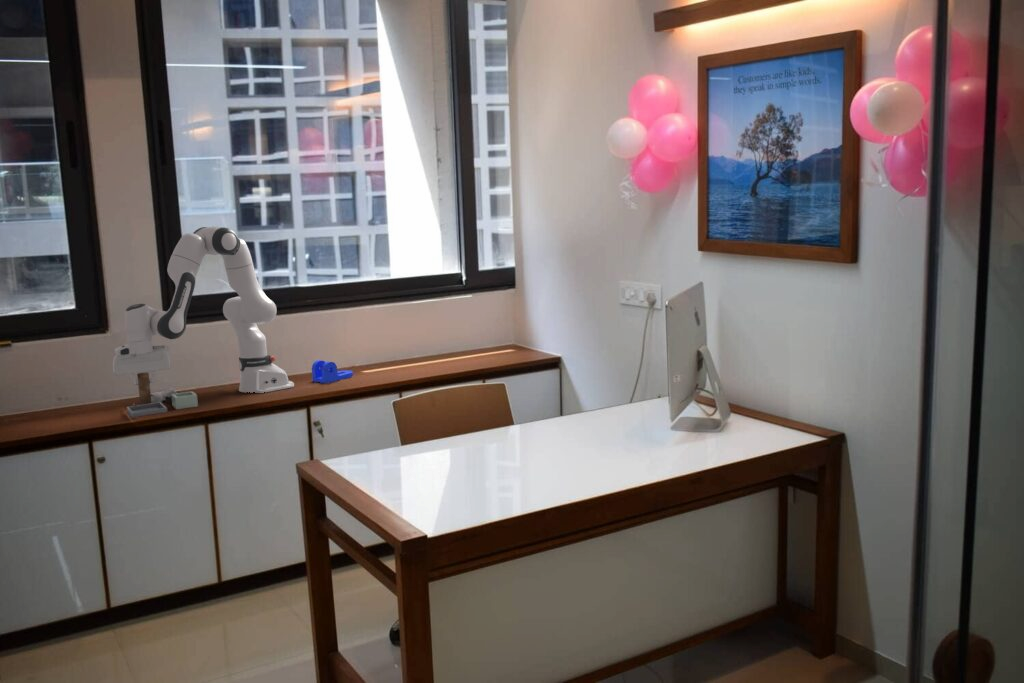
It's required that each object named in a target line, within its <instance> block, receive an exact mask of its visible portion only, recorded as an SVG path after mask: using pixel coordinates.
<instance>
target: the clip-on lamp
mask: <svg viewBox="0 0 1024 683" xmlns="http://www.w3.org/2000/svg"><path fill="white" fill-rule="evenodd" d="M183 392H184V391H182V392H181V393H183ZM176 393H180V391H176V389H175V388H174V387H169V388H167V389H164V390H161V391H159V392H158V391H155V392H153V393H151V402H152V403H158V402H161V403H163V401H166V404H167V405H169V404H171V405H172V396H171V394H176ZM150 404H151V403H150ZM137 405H138V404H137V403H132V406H137Z"/></svg>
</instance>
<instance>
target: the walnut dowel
mask: <svg viewBox="0 0 1024 683" xmlns="http://www.w3.org/2000/svg"><path fill="white" fill-rule="evenodd" d="M149 374H150V373H149V372H140V373H136V375H137V376H136V377H137V379H138V383H139V384H138V385H137V386H138V392H139V395H138V396H139V405H144V404H150V403H152V402H151V394H152V393H151V385H150V384H151V383H150V382H149V378H150V375H149Z"/></svg>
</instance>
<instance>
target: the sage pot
mask: <svg viewBox="0 0 1024 683" xmlns="http://www.w3.org/2000/svg"><path fill="white" fill-rule="evenodd" d="M182 392H183V393H182ZM182 392H179V393H176V394H171V396H172V404H171V405H172V406H173V408H174V409H175V410H182V409H189V408H196V407H199V402H198V394H196V392H194V391H193V390H192V391H190V390H189V391H182Z"/></svg>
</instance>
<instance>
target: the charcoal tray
mask: <svg viewBox="0 0 1024 683" xmlns="http://www.w3.org/2000/svg"><path fill="white" fill-rule="evenodd" d="M127 413H128V414H127ZM163 413H168V407H167V406H166V405H165V404H164V403H163V402H158V403H151V404H137V406H134V405H131V406H126V414H127V415H128V416H129V418H130V417H131V418H130V419H131V421H133V419H135V418H137V417H144V416H149V415H157V414H163Z"/></svg>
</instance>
